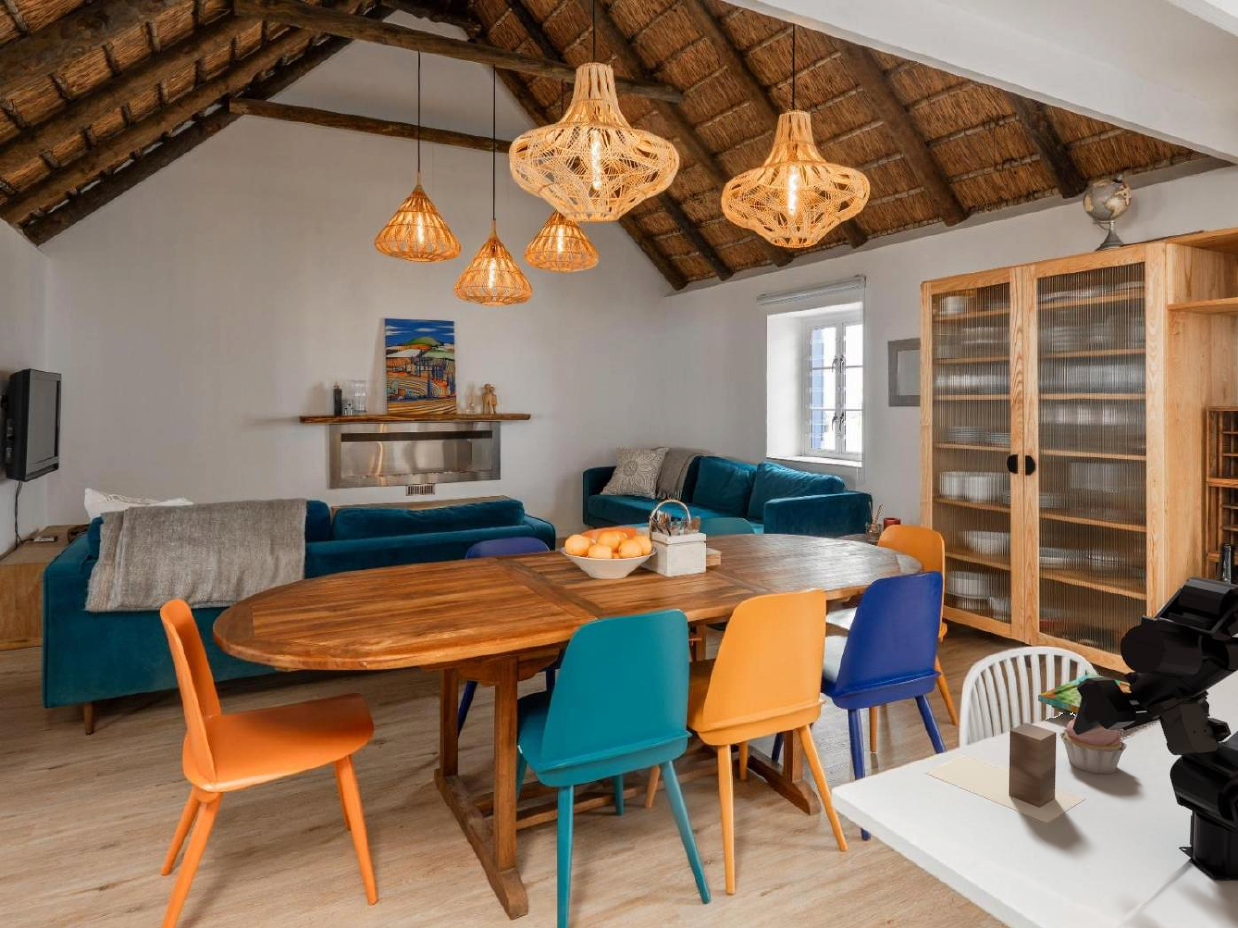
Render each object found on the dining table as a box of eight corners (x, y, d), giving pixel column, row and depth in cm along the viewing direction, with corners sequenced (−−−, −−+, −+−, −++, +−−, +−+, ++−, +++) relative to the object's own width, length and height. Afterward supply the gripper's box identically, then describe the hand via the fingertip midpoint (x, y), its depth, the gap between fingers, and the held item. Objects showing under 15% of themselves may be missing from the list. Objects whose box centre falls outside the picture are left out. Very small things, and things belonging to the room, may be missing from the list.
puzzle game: (1157, 686, 150) (1104, 709, 139) (1156, 710, 150) (1103, 735, 139) (1092, 669, 160) (1038, 690, 149) (1092, 692, 160) (1037, 714, 149)
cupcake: (1125, 762, 128) (1126, 702, 128) (1127, 786, 120) (1129, 722, 120) (1059, 750, 133) (1060, 692, 132) (1057, 773, 125) (1059, 712, 124)
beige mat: (1085, 802, 116) (1085, 798, 116) (1047, 827, 110) (1047, 822, 110) (963, 757, 131) (964, 753, 131) (924, 776, 125) (924, 772, 125)
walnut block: (1055, 798, 116) (1056, 732, 115) (1039, 807, 114) (1040, 740, 113) (1024, 786, 120) (1025, 722, 119) (1008, 795, 117) (1009, 730, 117)
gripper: (1182, 736, 90) (1087, 794, 100) (1282, 725, 97) (1183, 780, 107) (1120, 651, 97) (1037, 712, 108) (1217, 646, 104) (1130, 705, 115)
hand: (1099, 729), depth 109 cm, fingers open, 9 cm apart
